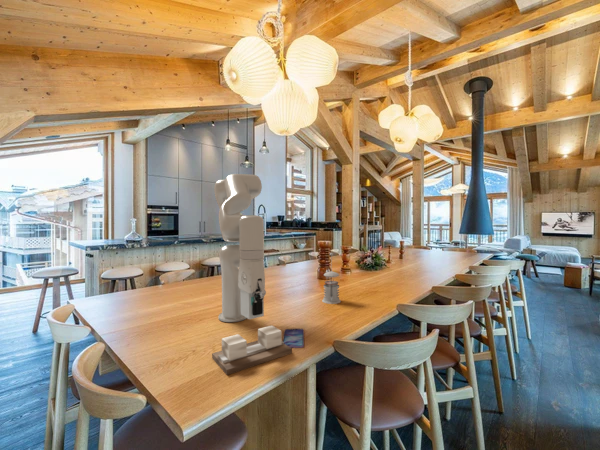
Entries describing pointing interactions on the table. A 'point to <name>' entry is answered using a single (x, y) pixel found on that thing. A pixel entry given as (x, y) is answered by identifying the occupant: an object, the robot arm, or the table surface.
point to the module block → (248, 305)
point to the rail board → (250, 350)
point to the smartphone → (294, 338)
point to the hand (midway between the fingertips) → (252, 311)
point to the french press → (331, 288)
